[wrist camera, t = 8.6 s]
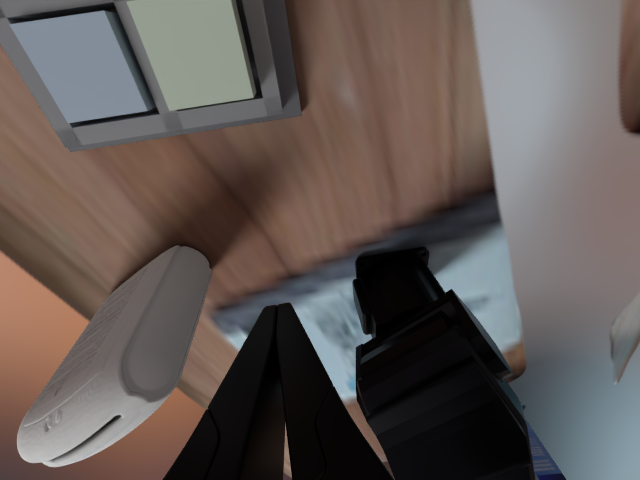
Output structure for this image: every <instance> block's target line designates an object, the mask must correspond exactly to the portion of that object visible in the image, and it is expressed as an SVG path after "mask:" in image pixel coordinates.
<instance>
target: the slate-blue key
mask: <svg viewBox="0 0 640 480" xmlns="http://www.w3.org/2000/svg"><path fill="white" fill-rule="evenodd" d="M9 25H10V27H11V28H12V30H13V32H14V33H15V35H16V37H17V38H18V40H19V42H20V44H21V45H22V47H23V49H24V50H25V52H26V54H27V55H28V57H29V59H30V60H31V62H32V64H33V65H34V67H35V69H36V70H37V72H38V74H39V75H40V77H41V79H42V80H43V82H44V84H45V86H46V87H47V89H48V91H49V92H50V94H51V96H52V97H53V99H54V101H55V102H56V104H57V106H58V107H59V109H60V111H61V112H62V114H63V116H64V117H65V119H66V121H67V123H73V122H80V121H86V120H93V119H99V118H105V117H112V116H118V115H125V114H131V113H138V112H144V111H149V110H151V109H153V108H155V107H157V106H156V104H155V101H154V99H153V96H152V94H151V92H150V89H149V87H148V84H147V82H146V79H145V77H144V75H143V72H142V70H141V67H140V65H139V63H138V60H137V58H136V55H135V53H134V50H133V48H132V46H131V43H130V41H129V38H128V36H127V34H126V31H125V29H124V26H123V24H122V21H121V19H120V17H119V14H118V13H113V12H109V11H98V12H91V13H84V14H77V15H70V16H63V17H57V18H50V19H43V20H36V21H29V22H22V23H15V24H9Z"/></svg>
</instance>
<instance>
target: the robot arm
mask: <svg viewBox="0 0 640 480" xmlns="http://www.w3.org/2000/svg"><path fill="white" fill-rule="evenodd" d="M422 252H424V253H422ZM421 253H422V254H421ZM428 259H429V251H428V250H427V248H426V247H419V248H413V249H408V250H402V251H396V252H390V253H384V254H378V255H373V256H367V257H361V258H358V259H357V260H356V261H355V267H356V279H354V280H353V295H354V302H355V305H356V309H357V312H358V316H359V319H360V323H361V326H362V329H363V333H365V334H366V335H369V334H371V336H372V339H371V340H370V341H368V342H366V343H365V344H361V345H359V346H357V347H356V394H357V402H358V404H359V405H360V408H361V410H362V413H363V415H364V417H365V418H366V421H367V423H368V424H369V426H370V427H371V429H372V430H373V432H374V433H375V435H376V437H377V439H378V441H379V443H380V445H381V446H382V448H383V450H384V453H385V455H386V458H387V460H388V462H389V465H390V468H391V470H392V473H393V475H394V478H395V480H539V478H538V477H537V475H536V474H535V472H534V467H533V460H532V454H531V448H530V441H529V435H528V428H527V424H526V420H525V416H524V413H523V409H522V405H521V402H520V401H519V399H518V397H517V396H516V395H515V393H514V392H513V390H512V389H511V387H510V386H509V385H508V383H507V382H506V380H505V379H506V378H508V377H510V376H512V375H514V374H513V372H512V370H511V369H510V367H509V365H508V364H507V362H506V360H505V359H504V357H503V355H502V354H501V352H500V350H499V349H498V347H497V345H496V344H495V342H494V341H493V340H492V338H491V337H490V336H489V334H488V333H487V332H486V330H485V329H484V327H483V326H482V325H481V323H480V322H479V321H478V319H477V318H476V317H475V316H474V315H473V313H472V312H471V311H470V310H469V309H468V308H467V306H466V305H465V304H464V303H463V302H462V300H461V299H460V298H459V297H458V296H457V295H456V293H455V292H454V291H453V290H452V289H451V290H449V291H448V292H446V293H445V291H444V290H443V288H442V287H441V286H440V284H439V283H438V281H437V280H436V278H435V277H434V275H433V274H432V272H431V271H430V269H429V268H428ZM360 263H363V264H360ZM208 409H209V410H208ZM208 409H207V410H206V411H205V413H204V414H203V417H202V418H201V420H200V422H199V423H198V425H197V427H196V428H195V430H194V432H193V433H192V435H191V437H190V438H189V440H188V442H187V443H186V445H185V447H184V448H183V450H182V451H181V453H180V454H179V456H178V457H177V459H176V460H175V462H174V464H173V465H172V467H171V468H170V469H169V471H168V472H167V474H166V475H165V477H164V478H163V480H283V468H284V443H285V422H286V430H287V438H288V447H289V455H290V464H291V472H292V480H394V479H393V477H392V476H391V475H390V473H389V472H388V470H387V469H386V467H385V466H384V465H383V463H382V462H381V460H380V459H379V457H378V456H377V455H376V453H375V452H374V450H373V449H372V447H371V446H370V445H369V443H368V442H367V440H366V439H365V437H364V436H363V435H362V433H361V432H360V430H359V428H358V427H357V425H356V424H355V422H354V421H353V419H352V418H351V416H350V415H349V413H348V411H347V409H346V408H345V406H344V404H343V402H342V400H341V399H340V397H339V395H338V393H337V391H336V389H335V387H333V383H332V382H331V380H330V378H329V376H328V374H327V372H326V370H325V368H324V366H323V364H322V362H321V360H320V358H319V357H318V355H317V353H316V351H315V349H314V347H313V345H312V343H311V341H310V339H309V337H308V335H307V333H306V332H305V330H304V328H303V326H302V324H301V322H300V320H299V318H298V316H297V314H296V312H295V310H294V308H293V307H292V305H291V303H283V304H279V305H278V306H277V305H271V306H266V307H265V308H264V309H263V311H262V312H261V314H260V316H259V318H258V319H257V321H256V323H255V325H254V326H253V328H252V330H251V332H250V333H249V335H248V337H247V339H246V341H245V342H244V344H243V346H242V348H241V349H240V351H239V353H238V355H237V356H236V358H235V360H234V362H233V364H232V365H231V367H230V369H229V371H228V372H227V374H226V376H225V378H224V379H223V381H222V383H221V385H220V386H219V388H218V390H217V392H216V394H215V395H214V397H213V399H212V401H211V402H210V404H209V406H208Z"/></svg>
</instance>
